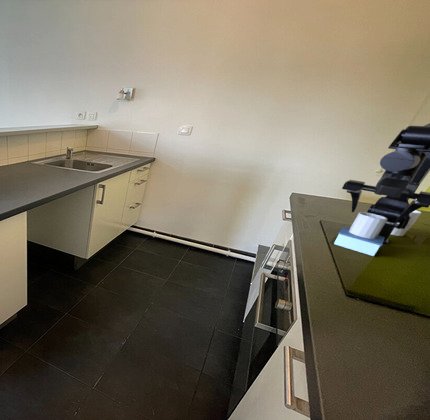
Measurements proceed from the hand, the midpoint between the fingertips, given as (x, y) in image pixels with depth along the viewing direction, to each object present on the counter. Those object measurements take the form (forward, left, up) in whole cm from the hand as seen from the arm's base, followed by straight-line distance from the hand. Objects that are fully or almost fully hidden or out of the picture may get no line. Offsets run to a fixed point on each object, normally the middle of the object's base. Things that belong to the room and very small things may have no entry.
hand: (373, 216), depth 80 cm
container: (0, 0, -11) cm, 11 cm away
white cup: (-32, +6, -11) cm, 34 cm away
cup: (0, 0, -7) cm, 7 cm away
